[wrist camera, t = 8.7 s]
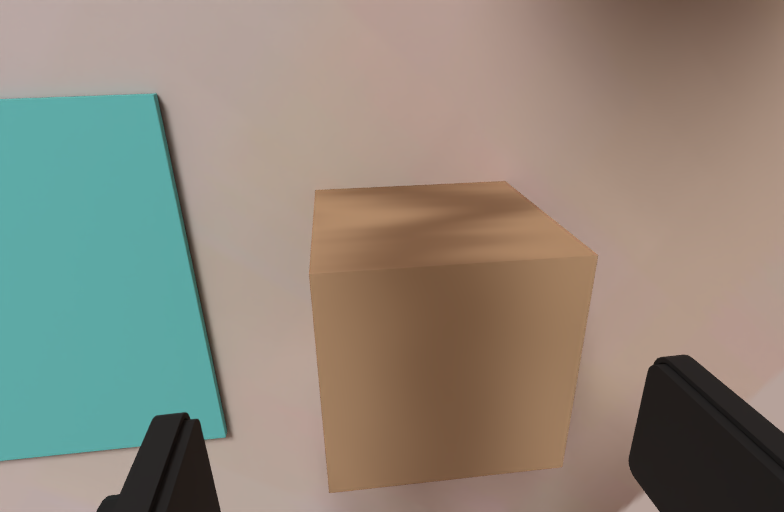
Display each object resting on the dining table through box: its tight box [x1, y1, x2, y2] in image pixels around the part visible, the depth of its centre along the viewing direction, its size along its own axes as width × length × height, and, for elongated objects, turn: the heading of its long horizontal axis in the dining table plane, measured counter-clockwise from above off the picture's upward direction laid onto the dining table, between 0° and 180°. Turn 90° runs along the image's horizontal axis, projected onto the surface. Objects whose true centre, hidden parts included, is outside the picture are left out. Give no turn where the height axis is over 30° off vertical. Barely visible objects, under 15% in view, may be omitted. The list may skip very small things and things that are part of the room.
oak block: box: [309, 181, 598, 493], centre depth 14 cm, size 6×6×6 cm
